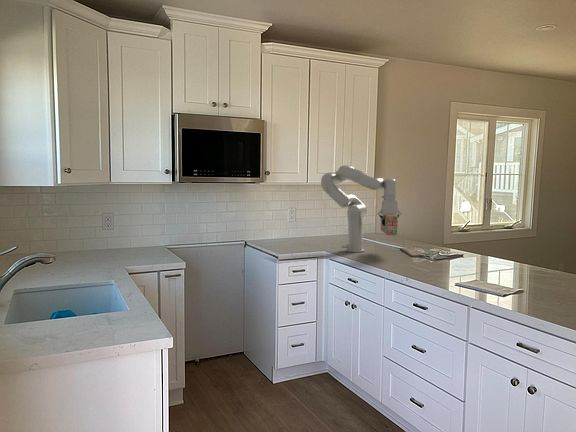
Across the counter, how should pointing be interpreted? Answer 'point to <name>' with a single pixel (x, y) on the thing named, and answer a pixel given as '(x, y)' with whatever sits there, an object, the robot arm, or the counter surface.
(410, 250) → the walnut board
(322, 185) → the robot arm
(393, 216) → the cardboard product box
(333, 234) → the counter surface
